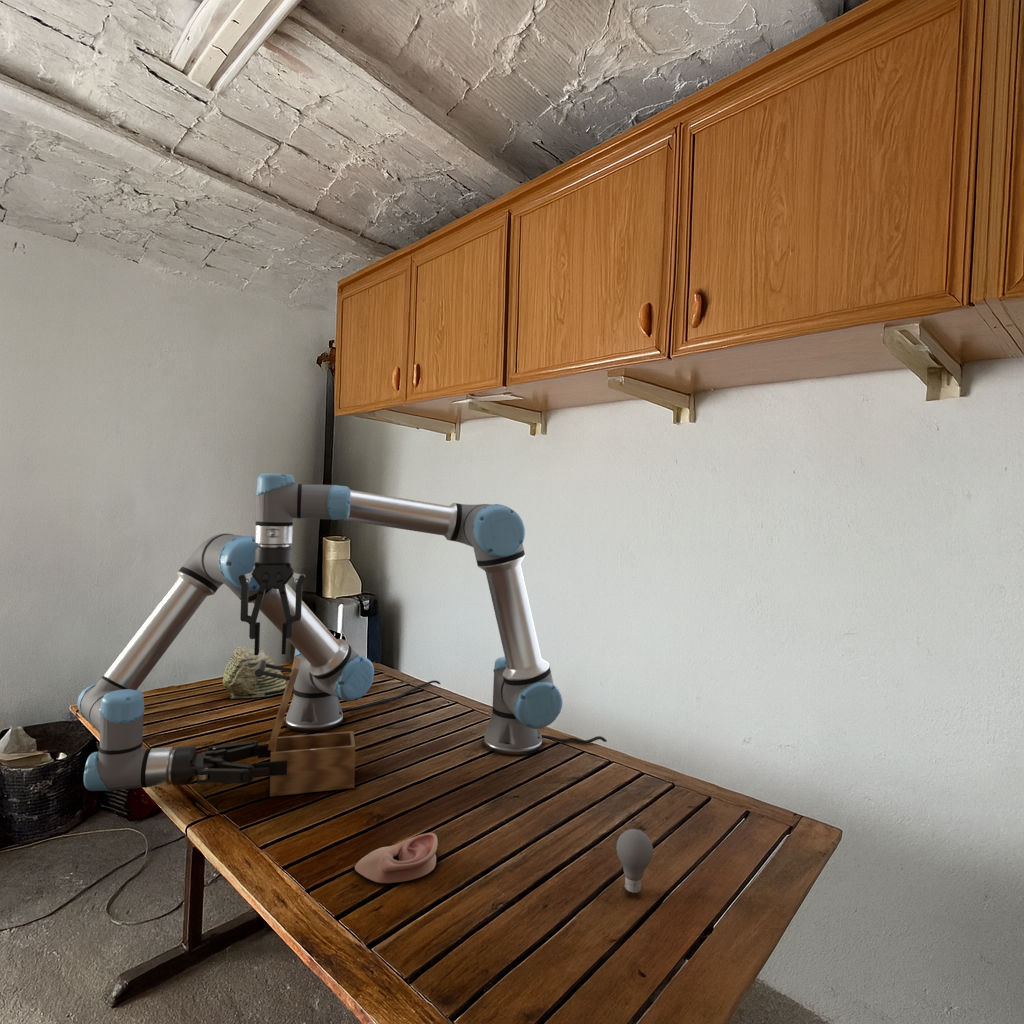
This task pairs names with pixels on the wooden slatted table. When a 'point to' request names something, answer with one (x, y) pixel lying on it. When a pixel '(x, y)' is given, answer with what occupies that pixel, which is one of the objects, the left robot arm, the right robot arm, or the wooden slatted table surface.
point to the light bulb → (634, 857)
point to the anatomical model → (400, 860)
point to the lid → (286, 696)
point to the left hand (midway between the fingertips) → (287, 758)
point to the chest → (314, 763)
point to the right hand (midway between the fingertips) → (270, 653)
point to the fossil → (250, 675)
